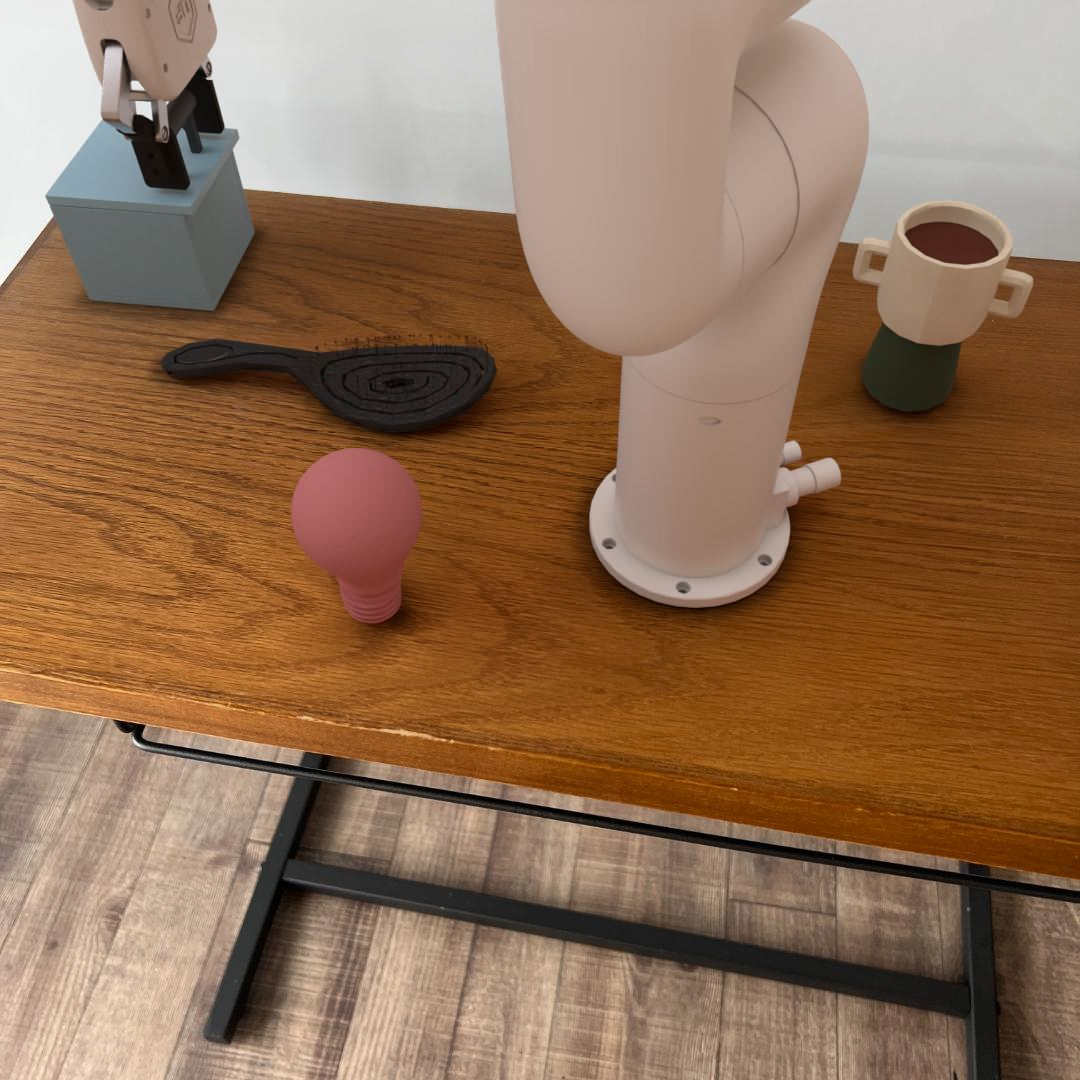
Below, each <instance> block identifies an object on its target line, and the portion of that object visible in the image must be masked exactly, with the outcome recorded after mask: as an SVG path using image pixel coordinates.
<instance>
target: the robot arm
mask: <svg viewBox="0 0 1080 1080" xmlns="http://www.w3.org/2000/svg"><path fill="white" fill-rule="evenodd" d="M811 1H812V0H494V3H493V4H494V16H495V26H496V35H497V45H498V54H499V55H498V56H499V65H500V74H501V85H502V95H503V104H504V113H505V114H504V115H505V123H506V134H507V143H508V144H507V145H508V152H509V154H508V155H509V162H510V163H509V164H510V172H511V182H512V191H513V200H514V210H515V215H516V222H517V227H518V233H519V237H520V242H521V247H522V250H523V254H524V257H525V260H526V264H527V266H528V269H529V271H530V274H531V276H532V279H533V282H534V284H535V285H536V287H537V289H538V291H539V293H540V295H541V297H542V298H543V300H544V302H545V303H546V305H547V307H548V308H549V309H550V311H551V312H552V313H553V315H555V317H556V318H557V319H558V321H559V322H560V323H561V324H562V325H563V326H564V328H566V329H567V330H568V331H569V332H570V333H571V334H573V335H574V336H575V337H576V338H578V340H580V341H582V343H585V344H586V345H588V346H590V347H592V348H594V349H596V350H598V351H600V352H603V353H606V354H609V355H613V356H619V357H622V358H621V377H620V393H619V394H620V395H619V398H620V399H619V415H618V432H617V433H618V434H617V451H616V452H617V453H616V455H617V456H616V467H615V468H614V469H613V470H611V472H609V473H608V474H607V475H606V476H605V477H604V478H603V480H602V481H601V483H600V484H599V485H598V487H597V489H596V491H595V493H594V494H593V498H592V500H591V503H590V509H589V521H588V522H589V524H588V525H589V528H588V529H589V535H590V540H591V545H592V548H593V550H594V552H595V554H596V556H597V558H598V560H599V562H600V563H601V565H602V566H603V567H604V568H605V570H606V571H607V572H608V573H609V574H610V576H612V577H613V578H614V579H615V580H616V581H617V582H618V583H620V584H621V585H622V586H624V587H626V588H627V589H629V590H630V591H632V592H634V593H636V594H637V595H639V596H641V597H644V598H646V599H648V600H651V601H654V602H657V603H660V604H664V605H669V606H673V607H681V608H693V609H694V608H695V609H699V608H711V607H719V606H723V605H727V604H731V603H733V602H738V601H739V600H742V599H743V598H745V597H748V596H751V595H752V594H754V593H756V592H757V591H758V590H759V589H761V588H762V587H764V586H765V585H766V584H767V583H769V581H770V580H771V579H772V578H773V577H774V576H775V575H776V574H777V572H778V571H779V569H780V567H781V566H782V563H783V561H784V560H785V557H786V553H787V550H788V547H789V544H790V543H789V542H790V536H791V523H790V516H789V512H788V508H789V507H792V506H795V505H797V504H798V502H799V499H800V498H801V497H804V496H807V495H810V494H811V495H815V494H819V493H821V492H824V491H827V490H831V489H834V488H836V487H838V486H840V485H841V481H842V472H841V470H840V467H839V464H838V463H837V462H836V460H835V459H833V458H832V457H826V458H823V459H819V460H816V461H812V462H810V463H807V464H803V465H802V466H801V467H798V468H796V469H792V470H790V469H788V468H787V467H785V466H786V465H790V464H793V463H797V462H799V461H801V459H802V456H803V455H802V449H801V446H800V444H799V442H797V440H790V441H787V437H788V432H789V427H790V423H791V419H792V415H793V410H794V405H795V401H796V396H797V392H798V387H799V384H800V378H801V375H802V370H803V366H804V363H805V359H806V356H807V351H808V346H809V342H810V339H811V333H812V331H813V326H814V321H815V317H816V313H817V310H818V305H819V301H820V298H821V296H822V295H821V294H822V292H823V288H824V285H825V282H826V278H827V276H828V273H829V270H830V268H831V265H832V261H833V259H834V256H835V253H836V250H837V248H838V246H839V243H840V240H841V238H842V236H843V233H844V230H845V227H846V225H847V222H848V219H849V217H850V214H851V211H852V209H853V206H854V203H855V200H856V197H857V195H858V192H859V188H860V185H861V181H862V177H863V173H864V170H865V165H866V161H867V155H868V148H869V141H870V140H869V138H870V119H869V109H868V101H867V97H866V92H865V89H864V86H863V83H862V80H861V78H860V76H859V73H858V71H857V69H856V67H855V65H854V63H853V62H852V60H851V59H850V57H849V55H848V54H847V53H846V52H845V50H844V49H843V48H842V47H841V46H840V44H838V42H836V41H835V40H834V39H833V38H831V37H830V36H829V35H828V34H827V33H826V32H824V31H822V30H821V29H819V28H818V27H816V26H814V25H812V24H809V23H807V22H804V21H802V20H799V19H795V18H791V17H792V16H794V15H795V14H796V13H797V12H799V11H800V10H801V9H803V8H804V7H805V6H806V5H808V4H809V3H811ZM72 3H73V7H74V10H75V14H76V18H77V21H78V25H79V27H80V31H81V35H82V39H83V41H84V44H85V47H86V50H87V53H88V57H89V60H90V61H91V65H92V67H93V70H94V72H95V75H96V78H97V79H98V82H99V84H100V86H101V88H102V89H101V101H100V102H101V103H100V116H101V120H103V121H104V122H106V123H108V124H109V125H111V126H112V127H114V128H115V129H116V130H117V131H118V132H119V133H121V134H123V135H124V138H125V139H126V140H128V141H131V144H132V147H133V149H134V152H135V155H136V158H137V161H138V164H139V167H140V170H141V173H142V176H143V179H144V182H145V184H146V185H147V186H148V187H150V188H161V189H175V190H187V189H188V187H189V186H190V179H189V176H188V172H187V169H186V166H185V163H184V159H183V156H182V153H181V150H180V146H179V143H178V140H177V136H176V135H170V134H169V126H168V115H167V102H169V101H172V100H174V99H175V98H176V97H177V96H178V95H179V94H180V93H181V92H182V91H183V89H184V90H187V91H189V92H190V93H192V94H193V95H194V97H195V99H196V107H195V109H194V110H193V115H194V119H195V122H196V126H197V129H198V133H213V134H221V133H222V132H223V130H224V129H225V128H226V125H225V122H224V117H223V114H222V110H221V107H220V102H219V98H218V95H217V91H216V87H215V84H214V80H213V79H210V78H212V75H213V63H212V61H211V60H210V58H209V56H208V55H209V53H210V52H211V50H212V49H213V47H214V46H215V43H216V41H217V37H218V36H217V35H218V28H217V22H216V18H215V14H214V11H213V7H212V4H211V1H210V0H72ZM132 82H138V83H139V85H140V86H141V87H142V89H133V87H132ZM136 102H146V103H147V102H148V103H150V108H151V117H152V118H151V119H150V118H149V117H147V116H145V115H144V114H139V113H138V114H137V104H136ZM182 128H183V130H184V126H183V127H182ZM184 131H185V130H184ZM786 441H787V442H786Z"/></svg>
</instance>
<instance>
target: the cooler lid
mask: <svg viewBox="0 0 1080 1080" xmlns="http://www.w3.org/2000/svg"><path fill="white" fill-rule="evenodd" d="M166 105H167V115H168V126H169V134H170V135H176V136H177V140H178V143H179V146H180V150H181V153H182V156H183V159H184V163H185V166H186V169H187V172H188V176H189V179H190V186H189V187H188V189H187V190H175V189H161V188H150V187H148V186H147V185H146V184H145V182H144V179H143V176H142V173H141V170H140V167H139V164H138V161H137V158H136V155H135V152H134V149H133V147H132V144H131V141H128V140H126V139H125V138H124V135H123V134H121V133H119V132H118V131H117V130H116V129H115V128H114V127H112V126H111V125H109V124H108V123H106V122H104V121H103V119H101V120H100V122H99V123H98V124H97V125H96V127H95V128H94V130H93V131H92V132H91V134H90V135H89V136H88V138H87V139H86V140H85V142H84V143H83V144H82V145H81V147H80V148H79V150H78V151H77V152H76V153H75V155H74V156H73V157H72V158H71V160H70V161H69V163H68V164H67V166H66V167H65V168H64V169H63V171H62V172H61V173H60V174H59V176H58V178H57V179H56V180H54V181H55V182H54V183H52V186H51V187H49V189H48V190H47V192H46V193H45V195H44V197H45V200H46V201H47V204H48V205H49V206H50V205H60V206H74V207H87V208H100V209H113V210H126V211H139V212H153V213H166V214H179V215H192V216H193V215H194V214H195V213H196V211H197V209H198V207H199V206H200V204H201V202H202V201H203V199H204V197H205V196H206V194H207V192H208V191H209V189H210V187H211V186H212V184H213V182H214V180H215V179H216V177H217V175H218V174H219V172H220V170H221V169H222V167H223V165H224V164H225V162H226V160H227V159H228V157H229V155H230V153H231V152H232V150H233V151H234V149H235V147H236V145H237V143H238V142H239V141H240V134H239V131H238V128H228V127H225V129H224V130H223V132H222V133H221V134H213V133H198V129H197V126H196V122H195V119H194V115H193V110H194V109H195V107H196V99H195V97H194V95H193V94H192V93H190V92H189V91H187V90H184V89H183V91H182V92H181V93H180V94H179V95H178V96H177V97H176V98H175V99H174V100H172V101H168V102H167V103H166ZM183 126H184V130H185V131H184V130H183V128H182V127H183Z"/></svg>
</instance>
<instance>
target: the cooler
mask: <svg viewBox="0 0 1080 1080" xmlns="http://www.w3.org/2000/svg"><path fill="white" fill-rule="evenodd" d="M49 208H50V211H51V214H52V215H53V218H54V220H55V223H56V225H57V228H58V229H59V231H60V234H61V236H62V238H63V241H64V243H65V245H66V248H67V250H68V253H69V255H70V257H71V259H72V262H73V264H74V267H75V269H76V271H77V273H78V276H79V278H80V280H81V282H82V285H83V287H84V290H85V292H86V294H87V296H88V299H89V301H91V302H92V301H93V302H104V303H115V304H127V305H136V306H137V305H138V306H139V305H140V306H150V307H151V306H152V307H160V308H161V307H163V308H172V309H184V310H185V309H186V310H197V311H206V312H207V311H209V312H214V311H215V309H216V308H217V306H218V304H219V302H220V300H221V298H222V296H223V294H224V293H225V291H226V289H227V287H228V285H229V283H230V281H231V279H232V277H233V275H234V274H235V272H236V269H237V267H238V266H239V264H240V262H241V261H242V258H243V256H244V254H245V252H246V251H247V248H249V245H250V243H251V242H252V239H253V237H254V236H255V234H256V232H255V229H254V224H253V221H252V217H251V213H250V210H249V209H250V208H249V206H248V202H247V197H246V194H245V190H244V186H243V183H242V178H241V175H240V171H239V167H238V164H237V160H236V156H235V152H234V149H233V150H232V152H231V153H230V155H229V157H228V159H227V160H226V162H225V164H224V165H223V167H222V169H221V170H220V172H219V174H218V175H217V177H216V179H215V180H214V182H213V184H212V186H211V187H210V189H209V191H208V192H207V194H206V196H205V197H204V199H203V201H202V202H201V204H200V206H199V207H198V209H197V211H196V213H195V214H194V215H193V216H192V215H179V214H166V213H153V212H139V211H126V210H113V209H100V208H87V207H74V206H60V205H49Z"/></svg>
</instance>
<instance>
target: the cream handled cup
mask: <svg viewBox="0 0 1080 1080" xmlns="http://www.w3.org/2000/svg"><path fill="white" fill-rule="evenodd" d="M1013 244H1014V243H1013V235H1012V232H1011V231H1010V229H1009V228H1008V227H1007V225H1006V223H1004V221H1003V220H1002V219H1001V218H999V217H997V216H996V215H995V214H994V213H992V212H990V211H989V210H987V209H984V208H982V207H980V206H977V205H975V204H971V203H968V202H964V201H957V200H942V199H941V200H933V201H928V202H921V203H919V204H917V205H915V206H912V207H911V208H908V209H906V210H905V212H904V213H903V214H901V216H900V218H899V219H897V222H896V225H895V227H894V229H893V233H892V237H891V241H890V240H885V239H881V238H877V237H873V236H871V237H864V238H862V239H861V240H860V242H859V243H858V248H857V251H856V255H855V259H854V263H853V267H852V276H853V279H854V280H856V281H857V282H860V283H862V284H863V283H864V284H866V285H871V286H874V287H878V288H877V295H876V297H877V298H876V306H877V312H878V314H879V316H880V318H881V320H882V323H881V324H880V327H879V329H878V330H877V332H876V335H875V337H874V339H873V341H872V343H871V345H870V347H869V348H868V351H867V353H866V356H865V359H864V361H863V363H862V365H861V381H862V383H863V385H864V387H865V388H866V390H867V391H868V393H869V395H870V396H872V397H873V398H874V399H876V400H877V401H878V402H879V403H881V404H882V405H884V406H885V407H887V408H891V409H895V410H898V411H901V412H905V413H907V412H910V413H911V412H919V411H928V410H930V409H932V408H934V407H937V406H938V405H940V404H942V403H944V402H945V401H946V399H947V398H948V396H949V395H950V394H951V392H952V391H953V389H954V388H953V387H954V383H955V379H956V375H957V370H958V363H959V359H960V354H961V348H962V342H963V341H964V340H966V339H968V338H970V337H972V336H973V335H974V334H975V333H976V332H977V331H978V329H979V328H980V327H981V326H982V324H983V323H984V321H985V319H986V318H987V316H988V314H990V315H994V316H997V317H1002V318H1006V319H1015V318H1018V317H1019V315H1020V314H1021V313H1022V312H1023V310H1024V308H1025V305H1026V304H1027V301H1028V299H1029V296H1030V294H1031V292H1032V289H1033V287H1034V278H1033V277H1032V276H1031V275H1030V274H1028V273H1026V272H1023V271H1019V270H1014V269H1009V268H1007V265H1008V262H1009V260H1010V258H1011V255H1012V252H1013V248H1014V245H1013ZM873 255H877V256H882V257H886V258H885V262H884V265H883V269H882V270H878V269H873V268H870V264H871V261H872V258H873ZM1000 285H1004V286H1008V287H1013V290H1012V293H1011V295H1010V298H1009V301H1006V300H1002V299H998V298H995V296H996V294H997V291H998V289H999V286H1000Z"/></svg>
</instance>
